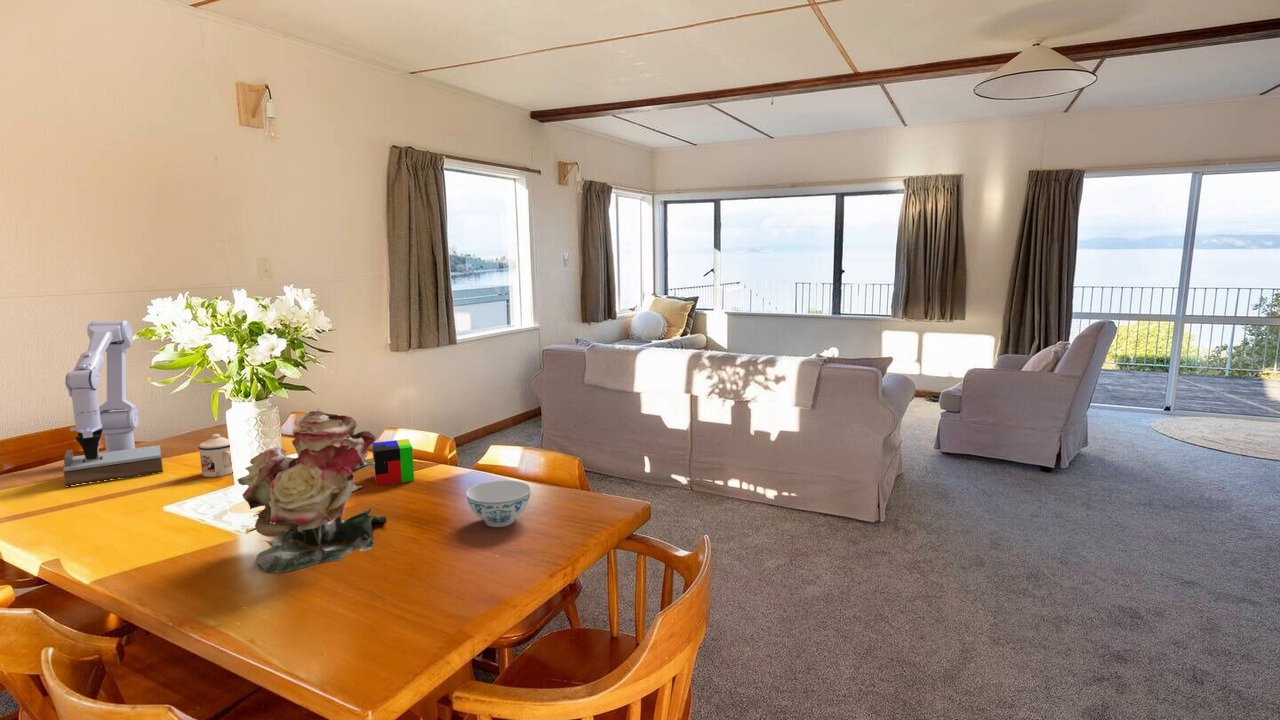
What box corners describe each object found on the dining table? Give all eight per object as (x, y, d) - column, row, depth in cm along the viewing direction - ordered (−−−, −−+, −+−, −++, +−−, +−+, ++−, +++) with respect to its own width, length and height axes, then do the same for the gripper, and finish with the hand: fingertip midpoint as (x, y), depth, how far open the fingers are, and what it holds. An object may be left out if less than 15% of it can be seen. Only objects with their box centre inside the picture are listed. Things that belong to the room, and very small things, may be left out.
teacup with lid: (194, 474, 195) (190, 436, 193) (226, 466, 202) (223, 429, 201) (217, 481, 189) (213, 441, 187) (249, 472, 196) (245, 434, 195)
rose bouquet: (251, 535, 150) (239, 405, 146) (388, 517, 161) (381, 396, 157) (226, 585, 127) (211, 432, 123) (388, 560, 137) (380, 419, 133)
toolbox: (69, 475, 195) (67, 461, 194) (161, 461, 208) (160, 448, 207) (65, 487, 184) (63, 472, 183) (162, 472, 197) (161, 458, 196)
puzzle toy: (374, 476, 193) (372, 442, 191) (410, 471, 197) (408, 438, 195) (376, 486, 184) (374, 451, 182) (414, 481, 188) (412, 447, 186)
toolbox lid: (67, 460, 194) (66, 449, 194) (160, 447, 207) (158, 437, 207) (63, 471, 183) (62, 460, 182) (161, 457, 196) (160, 446, 196)
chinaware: (517, 536, 149) (516, 503, 148) (456, 531, 152) (454, 499, 151) (540, 512, 163) (539, 482, 162) (484, 508, 166) (483, 478, 165)
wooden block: (87, 467, 193) (84, 447, 192) (100, 465, 194) (98, 445, 194) (86, 470, 190) (84, 449, 189) (100, 468, 192) (97, 448, 191)
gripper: (70, 408, 193) (76, 454, 195) (66, 417, 182) (72, 465, 184) (101, 405, 197) (106, 449, 199) (99, 414, 186) (104, 461, 188)
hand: (92, 457), depth 192 cm, fingers open, 4 cm apart
